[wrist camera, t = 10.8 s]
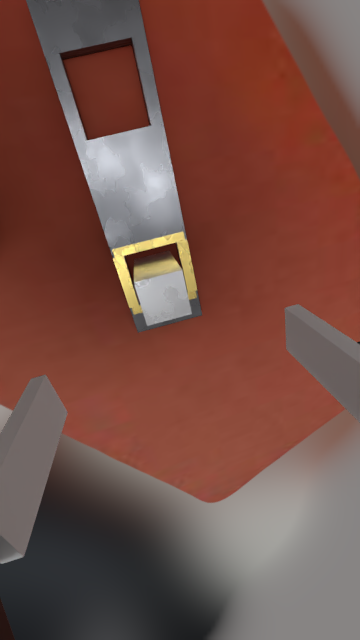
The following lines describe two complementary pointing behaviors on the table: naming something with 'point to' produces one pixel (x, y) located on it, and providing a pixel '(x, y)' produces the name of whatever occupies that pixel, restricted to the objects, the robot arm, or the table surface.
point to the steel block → (160, 288)
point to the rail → (119, 140)
